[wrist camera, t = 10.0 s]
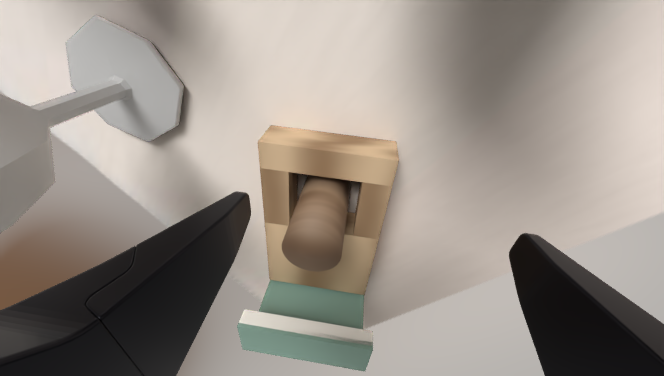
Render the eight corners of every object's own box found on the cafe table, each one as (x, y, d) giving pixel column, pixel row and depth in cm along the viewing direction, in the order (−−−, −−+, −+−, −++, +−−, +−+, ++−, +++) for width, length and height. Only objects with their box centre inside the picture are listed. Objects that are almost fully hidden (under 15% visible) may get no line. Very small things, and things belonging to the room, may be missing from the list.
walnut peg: (348, 204, 25) (338, 275, 19) (305, 198, 26) (282, 266, 19) (353, 167, 23) (344, 234, 17) (307, 161, 23) (280, 224, 17)
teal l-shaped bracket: (373, 257, 29) (372, 350, 22) (367, 280, 31) (365, 371, 24) (272, 241, 30) (237, 326, 22) (274, 265, 32) (242, 349, 24)
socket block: (396, 141, 21) (398, 160, 19) (365, 271, 31) (364, 295, 28) (270, 125, 22) (257, 141, 19) (277, 257, 31) (269, 279, 29)
